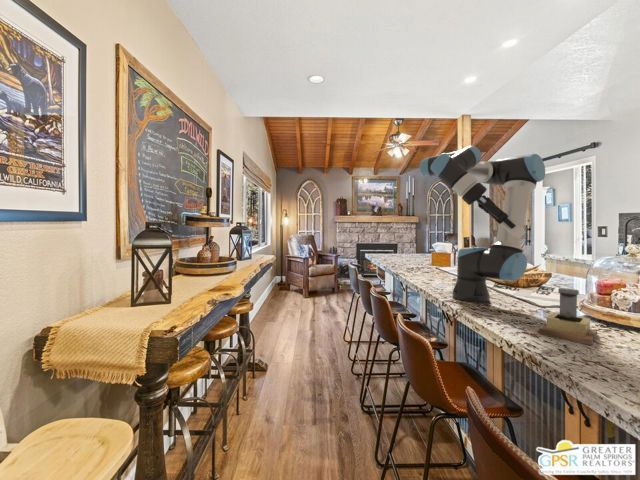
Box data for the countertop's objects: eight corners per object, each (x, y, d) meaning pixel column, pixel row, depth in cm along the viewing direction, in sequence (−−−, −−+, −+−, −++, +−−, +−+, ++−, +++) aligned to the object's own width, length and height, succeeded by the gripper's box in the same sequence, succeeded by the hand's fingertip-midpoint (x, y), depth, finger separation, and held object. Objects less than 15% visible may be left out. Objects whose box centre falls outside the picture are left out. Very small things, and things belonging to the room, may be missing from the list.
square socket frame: (552, 322, 100) (553, 312, 100) (589, 330, 93) (590, 318, 93) (546, 329, 94) (546, 317, 94) (585, 337, 87) (585, 324, 87)
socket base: (548, 325, 102) (548, 320, 102) (596, 335, 93) (597, 330, 93) (538, 333, 94) (539, 328, 94) (590, 345, 85) (591, 339, 85)
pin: (559, 325, 97) (560, 287, 97) (579, 329, 94) (580, 289, 93) (555, 329, 94) (556, 289, 93) (576, 333, 90) (577, 292, 90)
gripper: (462, 200, 118) (506, 241, 112) (458, 194, 96) (513, 244, 90) (478, 185, 115) (525, 226, 109) (478, 176, 93) (536, 226, 87)
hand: (519, 235), depth 100 cm, fingers open, 13 cm apart
